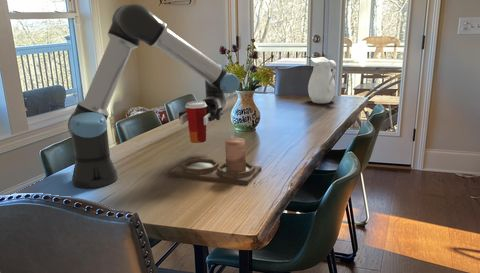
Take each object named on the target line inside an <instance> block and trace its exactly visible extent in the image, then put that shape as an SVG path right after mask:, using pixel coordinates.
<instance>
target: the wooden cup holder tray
mask: <svg viewBox="0 0 480 273" xmlns="http://www.w3.org/2000/svg"><path fill="white" fill-rule="evenodd" d="M224 143H225V144H224V145H225V147H224V148H225V162H219V161H217V160H216V159H213V158H206V157H200V158H192V159H187V160H185V161H183V162H181V164H179V165H177V166H176V167H174V168H173V169H172V170H170V171H168V177H173V178H183V179H192V180H201V181H210V182H217V183H219V182H220V183H226V184H237V185H246V186H249V184H251V183H252V181H253V180H254V179H255V178H256V177H257V176H258V175H259V174H260V173H261V172H262V166H258V165H253V163H251V162H248V161H247V159H246V158H247V157H246V156H247V155H246V152H247V151H246V139H244V138H243V137H242V138H241V137H231V138H227V139H225V141H224Z"/></svg>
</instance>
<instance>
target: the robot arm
mask: <svg viewBox="0 0 480 273" xmlns="http://www.w3.org/2000/svg"><path fill="white" fill-rule="evenodd" d="M107 35H108V36H107V37H108V38H109V40H108V43H107V44H106V45H107V46H106V48H105V50H104V52H103V55H102V57H101V59H100V62H99V64H98V67H97V69H96V71H95V73H94V76H93V78H92V81H91V83H90V86H89V88H88V90H87V91H86V94H85V97H84V99H83V100H81V101H78V102H77V105H76V107H75V109H74V112H73V113H72V114H71V115H70V117H69V119H68V122H67V128H68V132H69V134H70V136H71V140H72V146H73V154H74V161H75V163H74V165H73V166H74V168H73V171H72V172H73V174H72V177H71V178H72V179H71V180H72V185H73V186H74V187H76V188H80V189H94V188H101V187H104V186H108V185H111V184H113V183H115V182H116V181H117V180H118V172H117V170H116V168H115V165H114V163H113V161H112V159H111V154H110V142H109V134H108V133H109V132H108V122H107V120H108V118H109V115H110V114H109V111H108V108H109V105H110V102H111V100H112V97H113V96H114V93H115V90H116V88H117V86H118V84H119V82H120V79H121V77H122V74H123V72H124V69H125V68H126V66H127V65H126V64H127V62H128V60H129V59H130V56H131V53H132V51H133V50H135V49H137V48H139V46H140V43H141V42H143V43H145V44H146V45H148V46H149V47H156V48H157V49H158V50H160V51H162V52H163V53H165V54H166V55H168V56H169V57H171V58H172V59H173V60H175V61H177V63H179V64H181V65H182V66H184V67H185V68H186V69H188V70H190V71H191V72H192V73H195V75H197V76H199V77H200V78H202V79H203V80H204V83H205V84H204V85H205V86H204V87H205V98H204V99H203V100H202V101H205V103H206V105H207V106H206V116H205V117H204V125H206V126H207V125H208V124H209V123H210V122H212V121H213V122H214V121H215V120H216V121H219V120H221V117H222V116H223V115H224V111H223V110H224V108H225V106H226V104H227V97H226V95H225V94H229V95H230V94H234V93H235V92H237V91H238V89H239V88H240V83H241V82H240V79H239V77H238V76H237V75H236V74H234V73H232V72H229V71H228V70H226V69H225V68H224V67H223V65H222V64H221V63H217V62H215V61H214V60H212V59H211V58H209V57H208V56H207V55H205V54H204V53H202V52H201V51H200V50H198V49H197V48H196V47H194V46H193V45H191V43H189V42H188V41H186V40H185V39H183V38H182V37H181V36H179V35H177V34H176V33H175V32H174V31H172V30H171V29H169V28H168V27H167V23H166V22H165V21H163V20H161V19H160V18H159V17H158V16H157V15H155V13H153V12H152V11H151V10H149V9H148V8H147V7H146V6H143V5H142V4H138V3H131V4H124V5H121V6H119V7H118V8H117V9H116V10H115V11H114V13H113V15H112V18H111V25H110V26H109V29H108V32H107ZM178 119H179V124H180V126H184V124H185V123H188V118H187V110H186V109H184V110H181V111H179V112H178Z"/></svg>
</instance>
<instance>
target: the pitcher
mask: <svg viewBox="0 0 480 273" xmlns="http://www.w3.org/2000/svg"><path fill="white" fill-rule="evenodd" d="M310 60H311V62H312V65H313V69H312V72H311V74H310V77H309V81H308V86H307V91H308V96H309V99H310V100H311V102H312V103H313V104H329V103H331V101H332V99H333V98H334V96H335V93H336V84H335V83H336V82H335V78H334V77H335V76H336V73H337V70H338V69H337V63H336V62H335V60H332V59H330V60H329V59H328V58H326V57H324V56H319V57H310ZM331 66H332V68H331Z"/></svg>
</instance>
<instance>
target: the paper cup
mask: <svg viewBox="0 0 480 273" xmlns="http://www.w3.org/2000/svg"><path fill="white" fill-rule="evenodd" d="M206 106H207V105H206V103H205V101H203V100H192V101H190V100H189V101H187V102H186V103H185V106H184V107H185V108H186V109H185V110H187V118H188V121H187V125H188V132H189V133H188V134H189V140H190V142H191V143H194V144H201V143H205V142H206V141H207V125H204V117H205V116H206Z"/></svg>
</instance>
